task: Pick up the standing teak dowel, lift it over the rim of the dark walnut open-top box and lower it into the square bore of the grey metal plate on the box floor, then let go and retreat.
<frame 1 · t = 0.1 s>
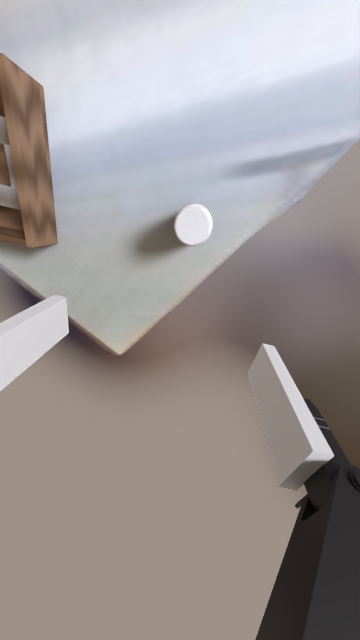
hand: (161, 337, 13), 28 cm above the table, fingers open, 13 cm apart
pill bottle: (194, 224, 35), on the table
box: (6, 166, 34), on the table
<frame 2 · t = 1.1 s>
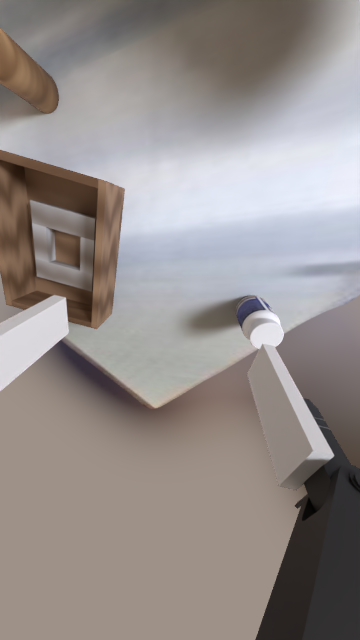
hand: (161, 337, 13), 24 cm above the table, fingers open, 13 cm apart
dowel: (43, 92, 26), on the table
pill bottle: (250, 308, 37), on the table
box: (73, 247, 35), on the table
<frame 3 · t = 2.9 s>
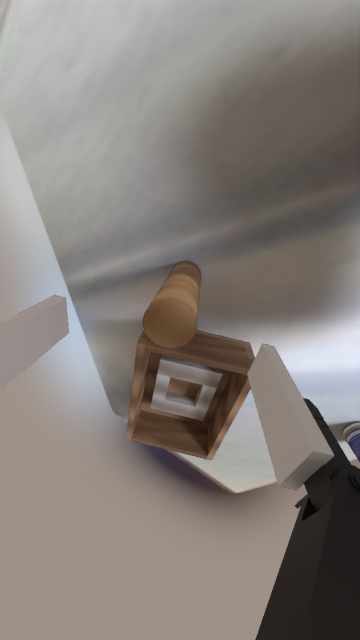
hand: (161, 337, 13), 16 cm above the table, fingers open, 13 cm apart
dowel: (186, 275, 27), on the table
pill bottle: (358, 429, 37), on the table
box: (184, 380, 36), on the table
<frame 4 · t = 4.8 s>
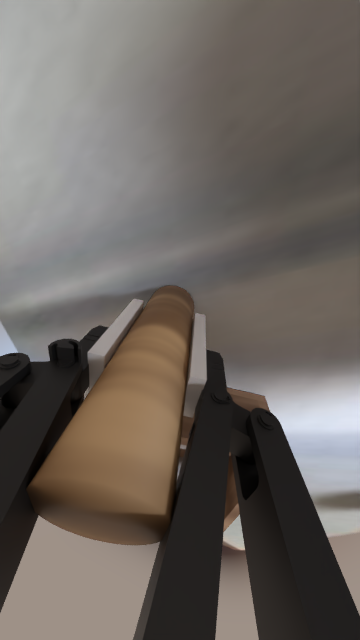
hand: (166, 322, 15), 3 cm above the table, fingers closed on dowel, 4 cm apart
dowel: (172, 306, 18), on the table, touching gripper
box: (174, 437, 27), on the table
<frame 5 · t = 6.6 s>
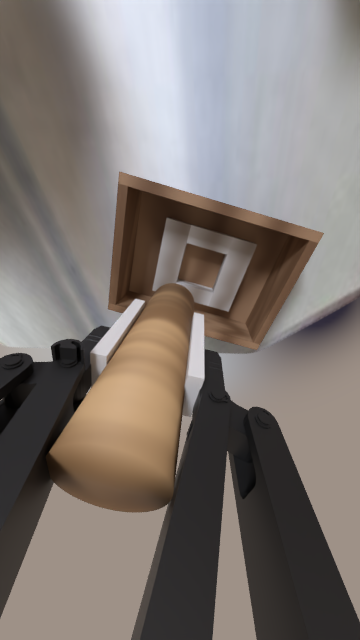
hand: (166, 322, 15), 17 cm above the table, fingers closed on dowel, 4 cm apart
dowel: (173, 303, 18), point 14 cm above the table, touching gripper
box: (200, 264, 30), on the table
when the fingers open (5 cm above the table, at t = 8.6 s): dowel stays where it is, resting on box.
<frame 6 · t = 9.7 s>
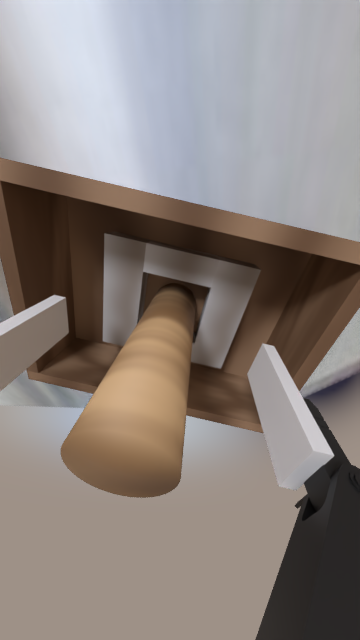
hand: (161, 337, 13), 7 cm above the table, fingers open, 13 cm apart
dowel: (175, 303, 19), point 1 cm above the table, touching box
box: (175, 298, 19), on the table
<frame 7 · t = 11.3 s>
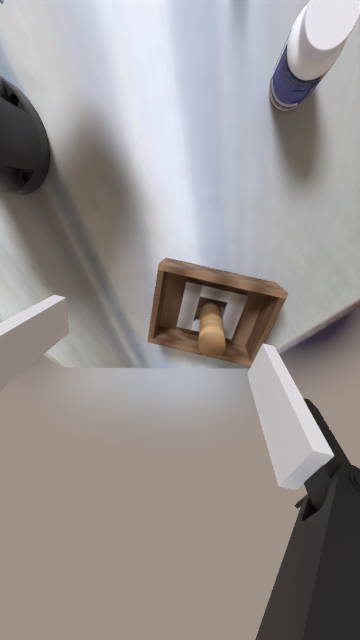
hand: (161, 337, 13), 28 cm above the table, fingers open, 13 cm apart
dowel: (210, 309, 41), point 1 cm above the table, touching box
pill bottle: (290, 84, 26), on the table
box: (210, 306, 42), on the table
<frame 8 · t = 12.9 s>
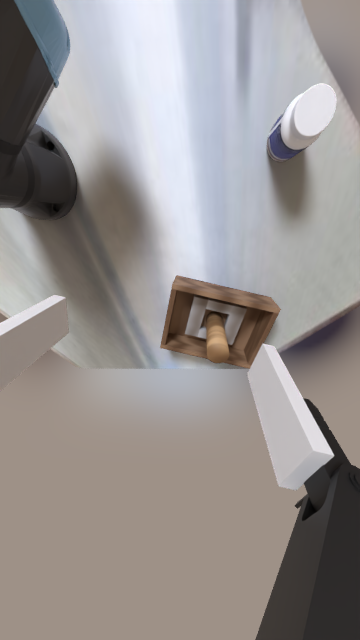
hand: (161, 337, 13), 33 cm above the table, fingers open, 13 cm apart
dowel: (214, 318, 47), point 1 cm above the table, touching box
pill bottle: (283, 140, 32), on the table
box: (213, 316, 48), on the table
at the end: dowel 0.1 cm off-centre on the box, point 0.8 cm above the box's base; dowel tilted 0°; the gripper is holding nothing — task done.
